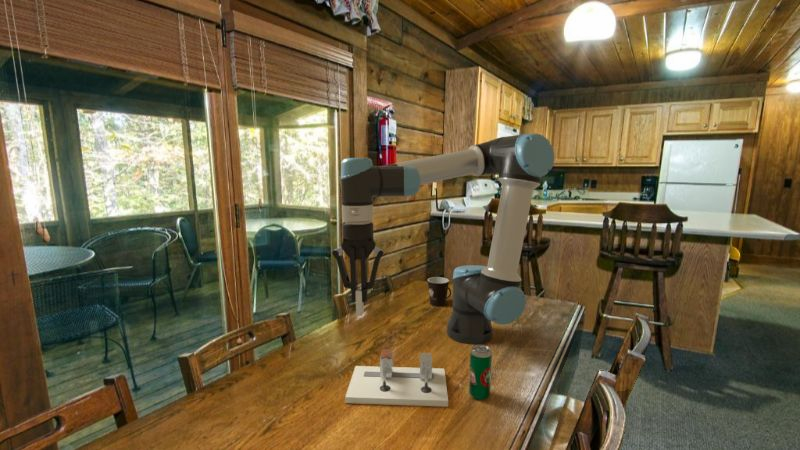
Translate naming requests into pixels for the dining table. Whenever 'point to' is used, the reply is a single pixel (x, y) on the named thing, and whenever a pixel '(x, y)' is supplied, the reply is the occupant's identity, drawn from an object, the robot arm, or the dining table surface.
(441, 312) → the dining table surface
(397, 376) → the bolt plate
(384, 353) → the sliding leg
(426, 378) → the fixed leg
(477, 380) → the soda can
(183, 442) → the dining table surface
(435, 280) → the coffee mug
